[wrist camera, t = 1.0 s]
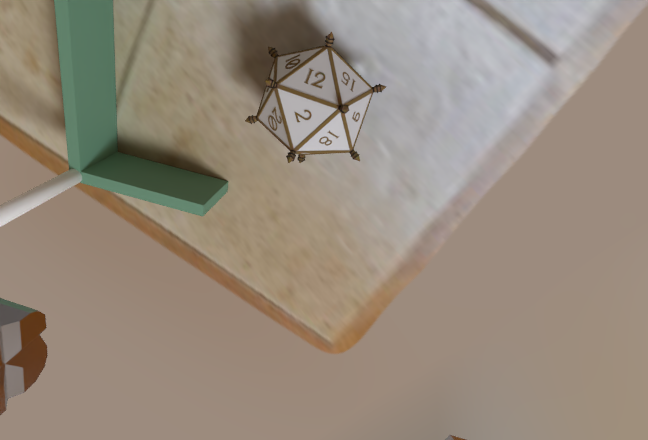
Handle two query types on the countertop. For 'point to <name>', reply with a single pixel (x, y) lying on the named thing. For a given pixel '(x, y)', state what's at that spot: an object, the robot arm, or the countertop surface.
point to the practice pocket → (105, 125)
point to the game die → (314, 102)
